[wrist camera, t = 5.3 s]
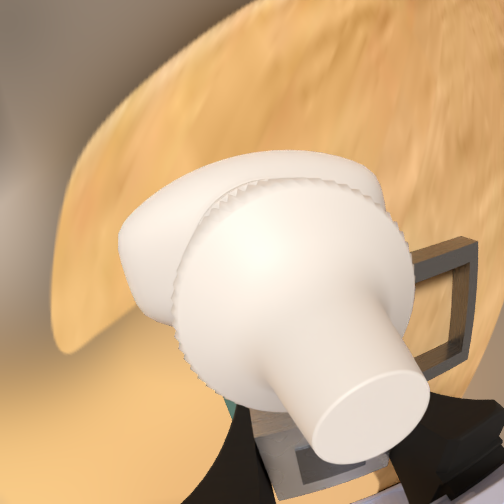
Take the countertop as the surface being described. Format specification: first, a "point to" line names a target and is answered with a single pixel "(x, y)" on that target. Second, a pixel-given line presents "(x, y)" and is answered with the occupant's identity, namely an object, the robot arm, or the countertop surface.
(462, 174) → the countertop surface
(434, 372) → the grey flat frame
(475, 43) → the countertop surface
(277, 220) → the eye dropper bottle
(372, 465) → the block
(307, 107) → the countertop surface
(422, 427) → the robot arm
